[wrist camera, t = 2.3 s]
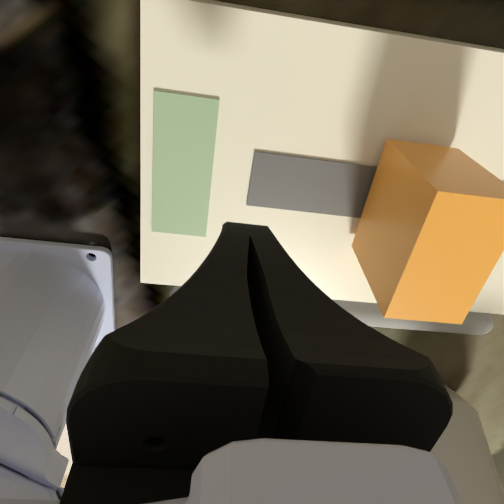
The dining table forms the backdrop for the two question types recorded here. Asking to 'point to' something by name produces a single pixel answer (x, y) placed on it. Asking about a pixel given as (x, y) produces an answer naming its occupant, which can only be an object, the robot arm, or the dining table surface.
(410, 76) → the breaker panel
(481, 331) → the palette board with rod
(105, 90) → the dining table surface
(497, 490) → the salt shaker
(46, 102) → the dining table surface
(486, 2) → the dining table surface
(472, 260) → the block
